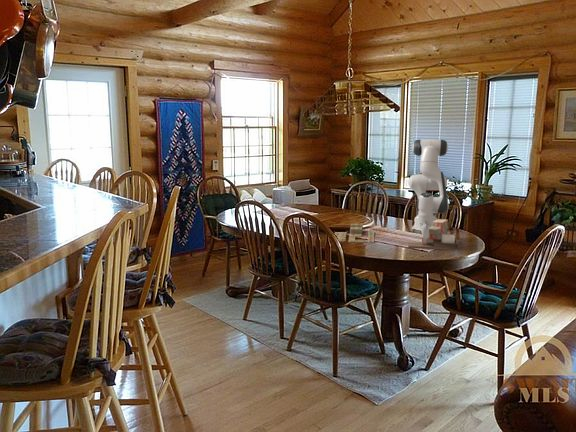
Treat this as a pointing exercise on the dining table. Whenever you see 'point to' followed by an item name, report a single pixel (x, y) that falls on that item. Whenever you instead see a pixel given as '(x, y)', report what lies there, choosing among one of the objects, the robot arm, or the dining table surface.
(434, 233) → the stack of blocks
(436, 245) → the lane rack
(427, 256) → the dining table surface
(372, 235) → the pile of dominoes
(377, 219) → the dining table surface
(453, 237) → the block
